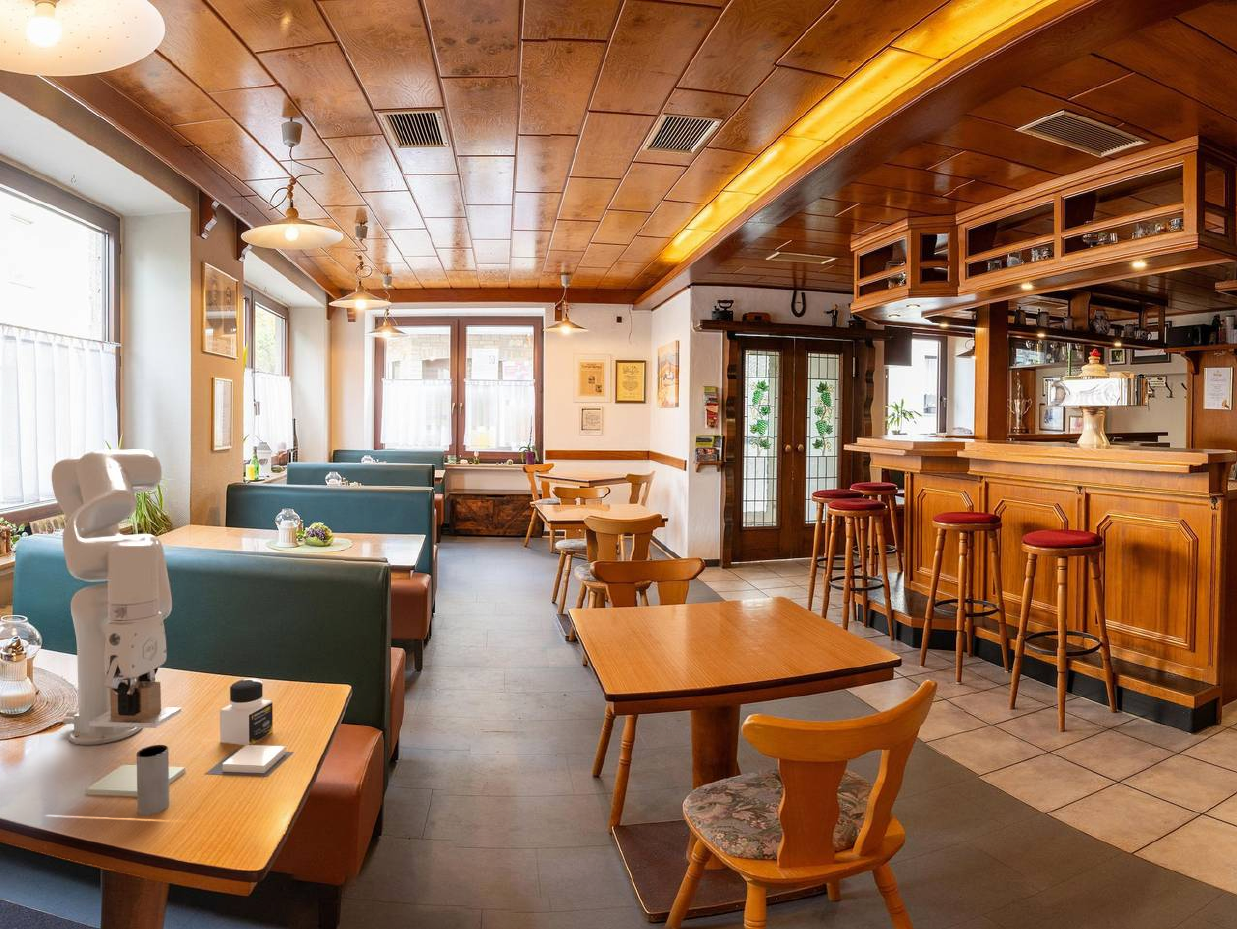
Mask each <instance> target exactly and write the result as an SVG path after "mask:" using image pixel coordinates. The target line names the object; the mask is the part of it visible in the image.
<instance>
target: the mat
mask: <svg viewBox="0 0 1237 929" xmlns="http://www.w3.org/2000/svg"><path fill="white" fill-rule="evenodd" d="M239 750H240V749H234V750H233V751H232V752H230V753H229V754H228V755H227V756H225V757H224V758H222V760H220V761H219V762H218V763H217V764H215V765H214V766H213V767H211V768H210V769H209V770H207V772H205V773H204V775H213V776H215V775H216V776H239V777H241V776H242V777H259V778H260V777H261V778H268V777H269V776H270V775H271V774H272V773H273V772H274V771H276V770H277V769H278V768H279V767H280V766H281V765H282V764H283V763H284V762H285V761H287V759H288V758H289V757H291V756H292V755H293V754H294V753H295V752H294V751H286V754H285V755H284V756H283V757H282V758H280V759H279V760H278V761H277V762H276V763H275V764H274V765H273V766H272V767H271V768H270V769H268V770H267V771H266V772H265V773H245V772H223V763H224V762H225V761H227V760H228V759H229V758H230V757H232V756H233V755H234V754H235V753H237V752H238V751H239Z"/></svg>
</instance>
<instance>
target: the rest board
mask: <svg viewBox="0 0 1237 929" xmlns="http://www.w3.org/2000/svg"><path fill="white" fill-rule="evenodd" d="M185 773H186V767H185V766H169V785H170V784H172V783H174V781H176V780H177V779H178V778H179V777H182V775H184V774H185ZM85 795H90V796H91V795H94V796H96V795H98V796H113V797H114V796H117V797H119V796H120V797H137V764H122V765H121V766H119V767H117V768H116V769H114V770H113V771H111V772H110V773H108V774H107V775H105V776H104V777H102V778H100V779H99V780H96V781H95V783H93V784H91V785H89V786H88V787H87V788H85Z"/></svg>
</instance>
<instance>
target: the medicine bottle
mask: <svg viewBox="0 0 1237 929" xmlns="http://www.w3.org/2000/svg"><path fill="white" fill-rule="evenodd" d="M263 684H264V683H263V681H262V680H260V679H255V678H246V679H240V680H238V681H236V682H235V681H234V682H233V683H232V684H231V686H230V687H229V703H230V704H229V705H227V706H225V707H222V708H220V710H219V732H220V734H219V735H220V736H219V737H220V738H219V741H220V743H222V744H231V745H238V746H239V745H240V746H245V745H255V743H257V742H259V741H260V740H263V738H266V737H267V736H268V735H270V734H272V733H273V732H274V730H273V728H274V727H273V722H274V721H273V700H270V699H264V689H263Z"/></svg>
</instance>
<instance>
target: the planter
mask: <svg viewBox="0 0 1237 929" xmlns="http://www.w3.org/2000/svg"><path fill="white" fill-rule="evenodd" d="M169 761H170V758H169V747H168V746H167V745H165V744H154V745H150V746H145V747H144V748H141V749H139V750H138V752H137V753H136V765H137V796H136V798H137V806H136V807H137V813H138V814H139V815H140V816H151V815H156V814H158V813H161V812H163V811H165V810H166V809H168V807H170V784H169V767H170V765H169V763H170V762H169Z"/></svg>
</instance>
